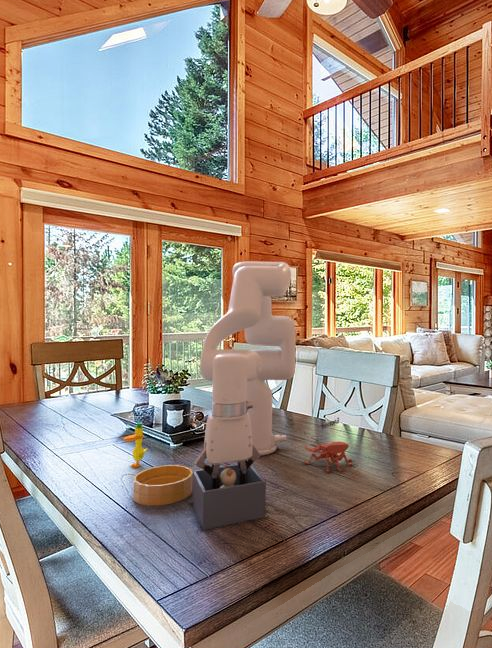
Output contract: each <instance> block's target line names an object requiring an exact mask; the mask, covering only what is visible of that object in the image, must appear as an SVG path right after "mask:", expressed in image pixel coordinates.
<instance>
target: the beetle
mask: <svg viewBox="0 0 492 648" xmlns="http://www.w3.org/2000/svg"><path fill="white" fill-rule="evenodd" d="M339 423H340V417H336V419H335V420H332V421H330V422H326V423H323V424H322V423H321V424H320V427H321V430H324V429H327V428H329V427H332V426H334V425H337V424H339ZM309 446H312V447H313V448H310V447H308V446H306V445H303V448H304V449H305V451H307V452H312V453H311V456H310V459H309V461H308V462H307V460H305V461H304V465H310V463H311V461H312V460H313V458H314V459H315V461H320V460H321V459H324V458H325V464H326V469H325V473H330V469H329V464H330V461H331V462H332V464H336V468H337V471H339V472H343V468H340V463H339V461H340V462H341V461H342V460H343V459H344V461H345V463H346V465H347V466H351V467H352V466H353V465H354V464H353V462H352V461H353V460H352V458H351V457H349V458H347V455H346V451H347V450H348V449H349V448H350V445H349V443H346V442H345V441H332V442H330V443H322V444H319V445H316V444H312V443H309ZM316 453H318V454H319V455H318V456H317V454H316ZM350 462H351V463H350Z"/></svg>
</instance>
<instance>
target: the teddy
mask: <svg viewBox="0 0 492 648" xmlns="http://www.w3.org/2000/svg"><path fill="white" fill-rule="evenodd" d="M228 465H229V464H226V465H223V466H224V471H222V473H221V474H220V482H221V483H222V484H223V485H222V486H221V487H220V488H225V487H231V486H235V485H233V483H234V482H235V481H236V473H235V471H234V470H232V469H230V466H228Z"/></svg>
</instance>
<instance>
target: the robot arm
mask: <svg viewBox="0 0 492 648" xmlns="http://www.w3.org/2000/svg"><path fill="white" fill-rule="evenodd" d="M231 272H232V285H231V291H230V297H229V302H228V309H227V312H226V313H225V314H224V315H222V316H221V317H220V318H219V319H217V321H216V322H215V323H214V324H213V325H212V326H211V327H210V328H209V330H208V331H207V333H206V335H205V338H204V340H203V345H202V351H201V355H200V361H199V371H200V375H201V376H202V378H203V379H204V380H206V381H210V382H212V392H211V393H212V398H211V400H212V401H211V414H209V415H208V416H207V420H206V425H205V430H204V431H205V432H204V439H203V440H204V441H203V450H202V451H201V452H200V454H199V455H198V457H197V458H196V460H194V464H195V466H196V467H197V468H200V470H201V469H203V470H205V471H206V472H207V473H208V474H209V475H210V476H211V490H213V489H219V488H220V478H219V476H218V471H219V467H221V466H220V465H221V464H227V463H234V462H236V464H238V467H239V468H238V470H237V471H236V486H237V485H243V484H245V473H246V472H247V469H248V468H249V467H250V466H251V465H252V466H253V463H254V462H256V461H257V460H258V459H260V457H261V456H266V455H269V454H272V453H274V452H276V451H277V449H278V448H277V447H278V446H277V444H278V443H283V442H287V441H288V439H287V435H286V434H283V435H281V434H273V392H272V389H271V387H270V386H269V385H268V384H267V382H266V381H288V380H291V379H292V378H293V377H294V376H295V373H296V364H297V363H296V362H297V361H296V354H297V353H296V325H295V322H294V320H293V318H291V317H290V316H287V315H273V313H272V312H273V311H272V298H273V297H274V298H275V297H276V298H279V297H283V296H285V295H286V293H287V291H288V289H289V288H290V285H291V281H292V270H291V267H290V265H289V264H288V263H287V262H284V261H262V260H261V261H260V260H259V261H255V260H253V261H251V260H250V261H240V262H237V263H235V264H234V265H233V266H232V271H231ZM271 297H272V298H271ZM241 331H244V340H245V343H247V344H248V345H249V346H257V347H279V348H280V349H268V348H267V349H264V348H263V349H258V348H257V349H223V348H222V349H220V348H219V349H218V347H219V345H220V344H221V343H222V342H223V341H224V340H225V339H227V338H228V337H230V336H232V335H234V334H237V333H239V332H241ZM205 461H207V462H205ZM209 464H210V465H209Z"/></svg>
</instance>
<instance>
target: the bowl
mask: <svg viewBox="0 0 492 648" xmlns="http://www.w3.org/2000/svg"><path fill="white" fill-rule="evenodd" d="M193 471H194V470H193V469H192V468H191V467H188V466H186V465H180V464H165V465H158V466H153V467H149V468H146V469H143V470H142V471H139V472H137V473H136V474H135V475H134V476H133V478H132V481H133V482H132V501H134V502H135V503H136V504H138V505H143V506H147V507H151V506H152V507H153V506H158V507H159V506H165V505H171V504H175V503H177V502H181V501H183V500H185V499H187V498H188V497H190V496H192V481H193Z"/></svg>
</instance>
